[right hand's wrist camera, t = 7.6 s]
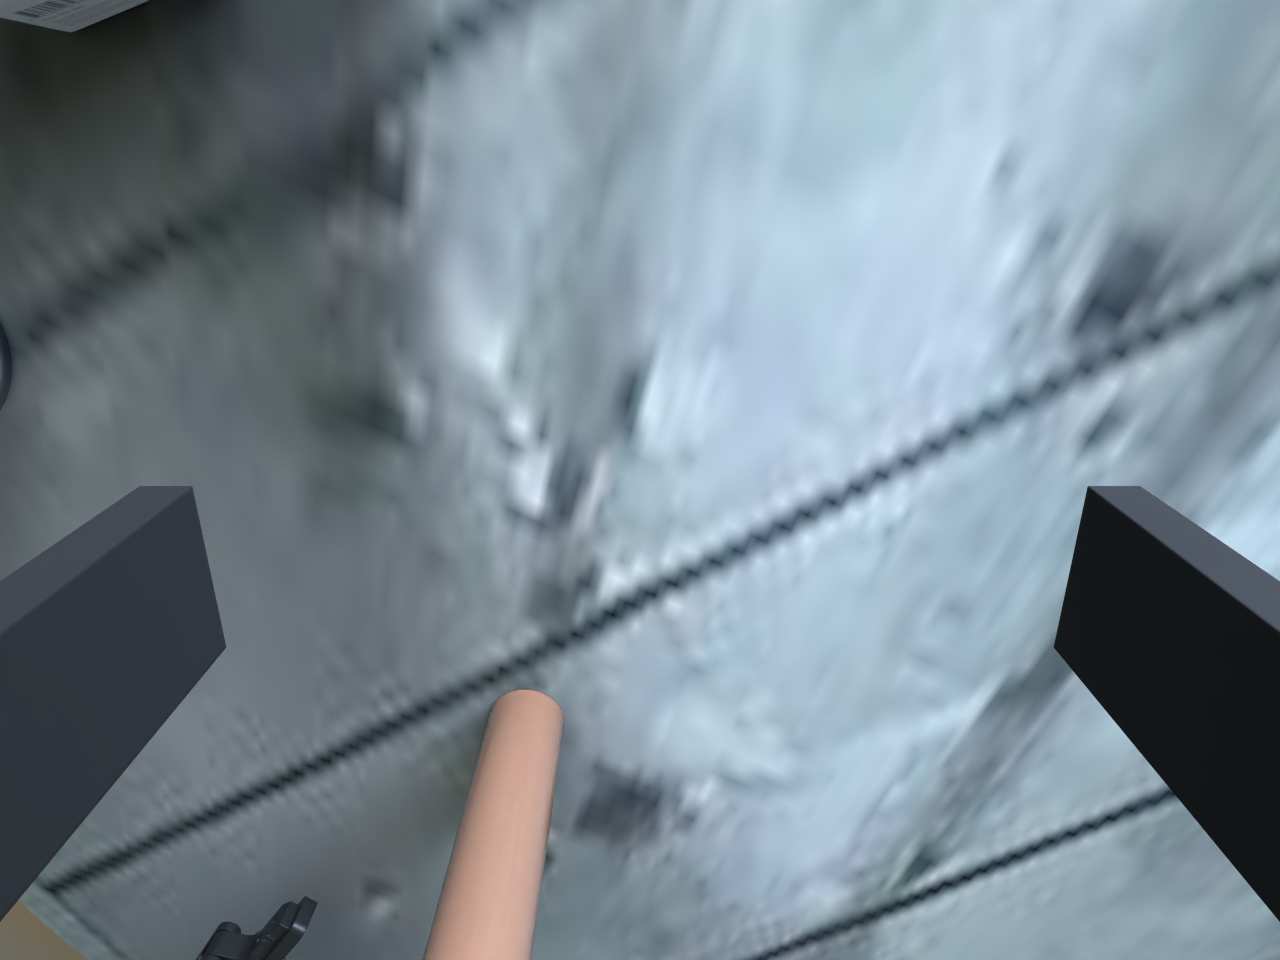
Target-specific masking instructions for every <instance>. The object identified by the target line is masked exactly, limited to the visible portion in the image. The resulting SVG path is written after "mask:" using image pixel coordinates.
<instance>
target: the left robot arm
mask: <svg viewBox="0 0 1280 960" xmlns="http://www.w3.org/2000/svg"><path fill="white" fill-rule="evenodd" d="M11 374H12V363H11V354H10V348H9V344H8V341H7V337H6V335H5V332H4V329H3V327H2V325H1V322H0V409H1V407H2V405H3V404H4V402H5V399H6V397H7V395H8V391H9V388H10V383H11ZM316 905H317V902H316V901H314V900H312V899H310V898H308V897H306V896H305V897H304V898H303V899H302V900H301V901H300V903H299V904H298V905H297V904H295V903H293V902H291V901H290V902H288V903H286V904H284V905H282V906H281V908H280V909H279V910H278V911H277V912H276V914H275V915H274V916H273V917H272V918H271V920H270V921H269V922H268V923H267V925H266V926H265V927H264V928H263V929H262V930H261V931H258V932H256V933H255V934H254V935H244V934H241V929H240V927H239V926H238V925H236V924H235V923H232V922H223V923H221V924H220V925H219V926H218V928H217V929H216V931H215V932H214V934H213V935H212V937H211V938H210V940H209V941H208V943H207V944H206V945H205V947H204V948H203V950H202V951H201V953H200V954H199V956H198V957H197V959H196V960H286V959H285V956H286V955H287V954H288V953H289V952H290V951H291V949H292V948H293V947H294V946H295V945H296V944H297V942H298V941H299V940H300V939H301V937H302V936H303V934H304V932H305V930H306V929H307V926H308V924H309V922H310V919H311V917H312V915H313V912H314V910H315V908H316Z"/></svg>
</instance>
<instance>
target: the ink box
mask: <svg viewBox="0 0 1280 960" xmlns="http://www.w3.org/2000/svg"><path fill="white" fill-rule="evenodd" d="M147 1H149V0H0V18H5V19H9V20H14V21H18V22H23V23H28V24H32V25H38V26H42V27H46V28H51V29H56V30H61V31H66V32H74V31H77V30H79V29H82V28H84V27H87V26H89V25H91V24H94V23H96V22H99V21H101V20H103V19H106V18H108V17H111V16H113V15H116V14H118V13H120V12H123V11H125V10H128V9H130V8H133V7H135V6H137V5H140V4H142V3H144V2H147Z"/></svg>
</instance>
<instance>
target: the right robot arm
mask: <svg viewBox="0 0 1280 960" xmlns="http://www.w3.org/2000/svg"><path fill="white" fill-rule="evenodd" d="M225 648H226V644H225V639H224V635H223V630H222V625H221V620H220V616H219V611H218V606H217V602H216V597H215V592H214V587H213V583H212V578H211V573H210V568H209V564H208V559H207V554H206V549H205V545H204V540H203V535H202V531H201V526H200V521H199V516H198V512H197V507H196V502H195V497H194V493H193V488H192V486H140V487H138V488H137V489H135V490H134V491H132V492H131V493H129V494H128V495H126V496H125V497H123V498H122V499H120V500H119V501H118V502H116V503H115V504H113V505H112V506H110V507H109V508H107V509H106V510H104V511H103V512H101V513H100V514H98V515H97V516H96V517H94V518H93V519H91V520H90V521H88V522H87V523H85V524H84V525H82V526H81V527H79V528H78V529H76V530H75V531H74V532H72V533H71V534H69V535H68V536H66V537H65V538H63V539H62V540H60V541H59V542H57V543H56V544H54V545H53V546H52V547H50V548H49V549H47V550H46V551H44V552H43V553H41V554H40V555H38V556H37V557H35V558H34V559H33V560H31V561H30V562H28V563H27V564H25V565H24V566H22V567H21V568H19V569H18V570H16V571H15V572H13V573H12V574H11V575H9V576H8V577H6V578H5V579H3V580H2V581H0V921H1V920H2V919H3V918H4V916H5V915H6V914H7V913H8V912H9V910H10V909H11V908H12V907H13V905H14V904H15V903H16V902H17V901H18V899H19V898H20V897H21V896H22V895H23V893H24V892H25V891H26V890H27V889H28V887H29V886H30V885H31V884H32V882H33V881H34V880H35V879H36V878H37V876H38V875H39V874H40V873H41V872H42V870H43V869H44V868H45V867H46V865H47V864H48V863H49V862H50V861H51V859H52V858H53V857H54V856H55V855H56V853H57V852H58V851H59V850H60V848H61V847H62V846H63V845H64V844H65V842H66V841H67V840H68V839H69V838H70V836H71V835H72V834H73V833H74V831H75V830H76V829H77V828H78V827H79V825H80V824H81V823H82V822H83V821H84V819H85V818H86V817H87V816H88V814H89V813H90V812H91V811H92V810H93V808H94V807H95V806H96V805H97V804H98V802H99V801H100V800H101V799H102V797H103V796H104V795H105V794H106V793H107V791H108V790H109V789H110V788H111V787H112V785H113V784H114V783H115V782H116V781H117V779H118V778H119V777H120V776H121V774H122V773H123V772H124V771H125V770H126V768H127V767H128V766H129V765H130V764H131V762H132V761H133V760H134V759H135V757H136V756H137V755H138V754H139V753H140V751H141V750H142V749H143V748H144V747H145V745H146V744H147V743H148V742H149V740H150V739H151V738H152V737H153V736H154V734H155V733H156V732H157V731H158V730H159V728H160V727H161V726H162V725H163V723H164V722H165V721H166V720H167V719H168V717H169V716H170V715H171V714H172V713H173V711H174V710H175V709H176V708H177V706H178V705H179V704H180V703H181V702H182V700H183V699H184V698H185V697H186V696H187V694H188V693H189V692H190V691H191V689H192V688H193V687H194V686H195V685H196V683H197V682H198V681H199V680H200V679H201V677H202V676H203V675H204V674H205V672H206V671H207V670H208V669H209V668H210V666H211V665H212V664H213V663H214V662H215V660H216V659H217V658H218V657H219V655H220V654H221V653H222V652H223V651H224V649H225ZM1054 648H1055V649H1056V651H1057V652H1058V653H1059V654H1060V655H1061V657H1062V658H1063V659H1064V660H1065V662H1066V663H1067V664H1068V665H1069V666H1070V668H1071V669H1072V670H1073V671H1074V672H1075V674H1076V675H1077V676H1078V677H1079V679H1080V680H1081V681H1082V682H1083V683H1084V685H1085V686H1086V687H1087V688H1088V689H1089V691H1090V692H1091V693H1092V694H1093V696H1094V697H1095V698H1096V699H1097V700H1098V702H1099V703H1100V704H1101V705H1102V706H1103V708H1104V709H1105V710H1106V711H1107V713H1108V714H1109V715H1110V716H1111V717H1112V719H1113V720H1114V721H1115V722H1116V723H1117V725H1118V726H1119V727H1120V728H1121V730H1122V731H1123V732H1124V733H1125V734H1126V736H1127V737H1128V738H1129V739H1130V740H1131V742H1132V743H1133V744H1134V745H1135V747H1136V748H1137V749H1138V750H1139V751H1140V753H1141V754H1142V755H1143V756H1144V757H1145V759H1146V760H1147V761H1148V762H1149V764H1150V765H1151V766H1152V767H1153V768H1154V770H1155V771H1156V772H1157V773H1158V774H1159V776H1160V777H1161V778H1162V779H1163V781H1164V782H1165V783H1166V784H1167V785H1168V787H1169V788H1170V789H1171V790H1172V791H1173V793H1174V794H1175V795H1176V796H1177V798H1178V799H1179V800H1180V801H1181V802H1182V804H1183V805H1184V806H1185V807H1186V808H1187V810H1188V811H1189V812H1190V813H1191V814H1192V816H1193V817H1194V818H1195V819H1196V821H1197V822H1198V823H1199V824H1200V825H1201V827H1202V828H1203V829H1204V830H1205V831H1206V833H1207V834H1208V835H1209V836H1210V838H1211V839H1212V840H1213V841H1214V842H1215V844H1216V845H1217V846H1218V847H1219V848H1220V850H1221V851H1222V852H1223V853H1224V855H1225V856H1226V857H1227V858H1228V859H1229V861H1230V862H1231V863H1232V864H1233V865H1234V867H1235V868H1236V869H1237V870H1238V872H1239V873H1240V874H1241V875H1242V876H1243V878H1244V879H1245V880H1246V881H1247V882H1248V884H1249V885H1250V886H1251V887H1252V889H1253V890H1254V891H1255V892H1256V893H1257V895H1258V896H1259V897H1260V898H1261V899H1262V901H1263V902H1264V903H1265V904H1266V906H1267V907H1268V908H1269V909H1270V910H1271V912H1272V913H1273V914H1274V915H1275V916H1276V918H1277V919H1278V920H1279V921H1280V581H1278V580H1277V579H1275V578H1274V577H1272V576H1271V575H1269V574H1268V573H1267V572H1265V571H1264V570H1262V569H1261V568H1259V567H1258V566H1256V565H1255V564H1253V563H1252V562H1250V561H1249V560H1247V559H1246V558H1245V557H1243V556H1242V555H1240V554H1239V553H1237V552H1236V551H1234V550H1233V549H1231V548H1230V547H1228V546H1227V545H1226V544H1224V543H1223V542H1221V541H1220V540H1218V539H1217V538H1215V537H1214V536H1212V535H1211V534H1209V533H1208V532H1206V531H1205V530H1204V529H1202V528H1201V527H1199V526H1198V525H1196V524H1195V523H1193V522H1192V521H1190V520H1189V519H1187V518H1186V517H1184V516H1183V515H1182V514H1180V513H1179V512H1177V511H1176V510H1174V509H1173V508H1171V507H1170V506H1168V505H1167V504H1165V503H1164V502H1162V501H1161V500H1160V499H1158V498H1157V497H1155V496H1154V495H1152V494H1151V493H1149V492H1148V491H1146V490H1145V489H1143V488H1142V487H1140V486H1088V488H1087V493H1086V497H1085V502H1084V507H1083V512H1082V516H1081V521H1080V526H1079V531H1078V535H1077V540H1076V545H1075V549H1074V554H1073V559H1072V564H1071V568H1070V573H1069V578H1068V583H1067V587H1066V592H1065V597H1064V601H1063V606H1062V611H1061V616H1060V620H1059V625H1058V630H1057V635H1056V639H1055V644H1054Z"/></svg>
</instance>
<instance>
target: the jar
mask: <svg viewBox="0 0 1280 960" xmlns="http://www.w3.org/2000/svg"><path fill="white" fill-rule="evenodd" d="M563 729H564V717H563V713H562V711H561V709H560V707H559V706H558V704H557V703H556V702H555V701H554V700H553V699H551V698H550V697H549V696H547V695H545V694H543V693H541V692H538V691H534V690H516V691H512V692H509V693H507V694H505V695H503V696H502V697H500V698H499V699H498V700H497V701H496V702H495V703H494V705H493V706H492V708H491V711H490V714H489V717H488V721H487V725H486V728H485V732H484V736H483V739H482V743H481V747H480V750H479V754H478V758H477V761H476V765H475V769H474V772H473V776H472V780H471V783H470V787H469V791H468V794H467V798H466V802H465V805H464V809H463V813H462V816H461V820H460V823H459V827H458V831H457V834H456V838H455V842H454V845H453V849H452V853H451V856H450V860H449V864H448V867H447V871H446V875H445V878H444V882H443V886H442V889H441V893H440V897H439V900H438V904H437V908H436V911H435V915H434V919H433V922H432V926H431V930H430V933H429V937H428V941H427V944H426V948H425V952H424V955H423V959H422V960H531V958H532V951H533V944H534V937H535V930H536V923H537V915H538V908H539V901H540V894H541V887H542V879H543V872H544V865H545V858H546V851H547V844H548V836H549V829H550V822H551V815H552V808H553V800H554V793H555V786H556V779H557V772H558V765H559V757H560V750H561V743H562V736H563Z"/></svg>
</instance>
